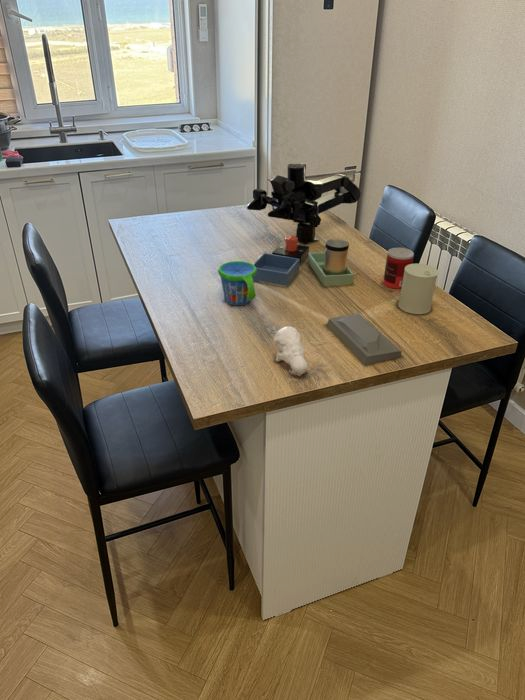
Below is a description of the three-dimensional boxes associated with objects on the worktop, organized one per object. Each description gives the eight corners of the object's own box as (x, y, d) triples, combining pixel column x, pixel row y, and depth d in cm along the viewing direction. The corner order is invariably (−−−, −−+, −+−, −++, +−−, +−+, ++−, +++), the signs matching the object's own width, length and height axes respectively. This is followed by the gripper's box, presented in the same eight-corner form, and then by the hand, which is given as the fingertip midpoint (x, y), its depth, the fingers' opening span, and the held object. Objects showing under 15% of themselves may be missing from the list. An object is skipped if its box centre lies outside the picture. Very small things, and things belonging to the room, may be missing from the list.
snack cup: (210, 292, 163) (209, 260, 157) (243, 286, 167) (243, 255, 161) (231, 316, 151) (231, 282, 145) (265, 308, 155) (266, 275, 149)
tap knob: (287, 246, 186) (287, 234, 184) (298, 248, 185) (299, 235, 183) (283, 250, 183) (284, 238, 181) (294, 252, 182) (295, 240, 179)
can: (412, 317, 153) (420, 278, 146) (391, 303, 159) (397, 265, 153) (437, 310, 156) (446, 271, 150) (416, 297, 163) (423, 259, 157)
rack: (307, 263, 182) (308, 252, 180) (334, 261, 184) (335, 251, 182) (323, 287, 167) (324, 276, 165) (352, 285, 169) (354, 274, 167)
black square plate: (281, 250, 191) (281, 241, 189) (308, 254, 188) (309, 246, 186) (271, 260, 183) (272, 251, 181) (300, 265, 180) (300, 256, 179)
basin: (263, 265, 180) (263, 252, 177) (299, 272, 176) (299, 258, 174) (249, 280, 170) (249, 267, 167) (287, 287, 166) (287, 273, 164)
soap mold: (365, 364, 132) (367, 352, 130) (326, 325, 148) (327, 314, 146) (401, 356, 136) (403, 344, 134) (359, 319, 151) (361, 307, 149)
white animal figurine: (297, 321, 132) (318, 350, 123) (294, 349, 137) (313, 379, 128) (272, 325, 130) (292, 355, 121) (270, 353, 135) (288, 384, 126)
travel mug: (333, 271, 176) (336, 237, 170) (349, 278, 171) (353, 243, 165) (317, 277, 172) (320, 242, 166) (334, 284, 167) (338, 249, 161)
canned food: (410, 283, 171) (416, 250, 165) (404, 293, 165) (410, 259, 159) (386, 278, 174) (391, 245, 168) (379, 288, 168) (385, 254, 162)
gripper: (269, 168, 185) (236, 180, 176) (312, 180, 174) (279, 193, 165) (269, 200, 191) (237, 213, 182) (311, 213, 180) (279, 228, 171)
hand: (257, 211), depth 175 cm, fingers open, 9 cm apart
